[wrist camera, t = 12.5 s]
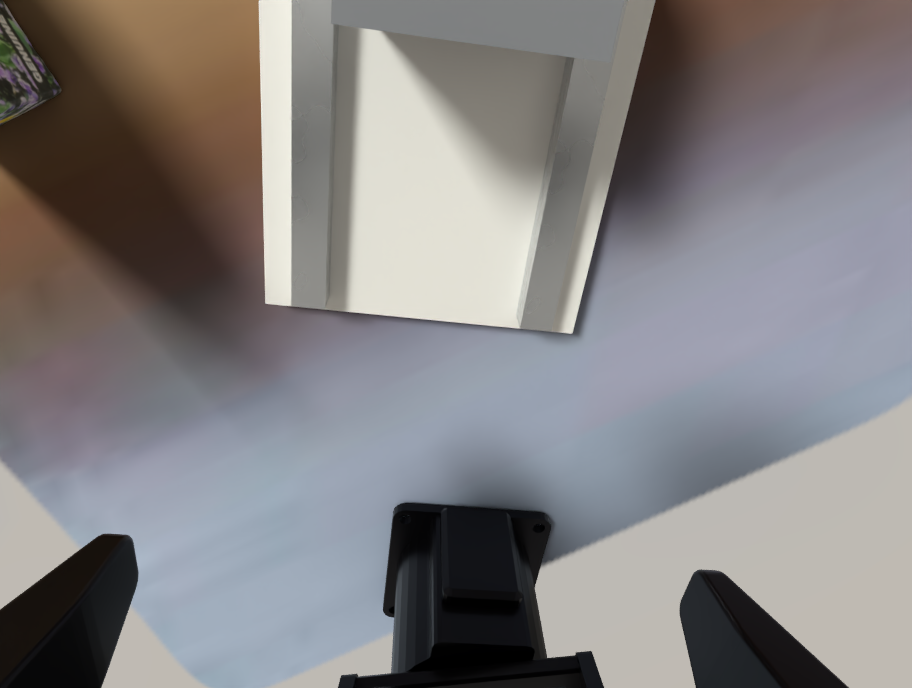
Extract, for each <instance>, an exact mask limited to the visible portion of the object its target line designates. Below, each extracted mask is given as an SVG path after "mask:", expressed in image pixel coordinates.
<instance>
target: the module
mask: <svg viewBox="0 0 912 688" xmlns="http://www.w3.org/2000/svg"><path fill="white" fill-rule="evenodd" d="M623 4H624V0H332V4H331V24H336V25H343V26H350V27H357V28H364V29H371V30H378V31H386V32H393V33H400V34H407V35H414V36H421V37H429V38H436V39H443V40H450V41H457V42H464V43H472V44H479V45H486V46H493V47H500V48H507V49H515V50H522V51H529V52H536V53H543V54H550V55H558V56H565V57H572V58H579V59H586V60H593V61H601V62H608V63H610V62H611V57H612V53H613V49H614V44H615V40H616V35H617V31H618V26H619V22H620V18H621V13H622V9H623Z"/></svg>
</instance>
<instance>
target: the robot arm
mask: <svg viewBox="0 0 912 688" xmlns="http://www.w3.org/2000/svg"><path fill="white" fill-rule="evenodd" d="M402 515H409V516H408V517H403V516H402ZM536 524H541V525H538V526H535V525H536ZM550 530H551V524H550V520H549V517H548V516H547V515H546V514H544V513H540V512H528V511H513V510H499V509H484V508H470V507H455V506H441V505H426V504H412V503H402V504H400V505H397V506H396V507H395V508H394V511H393V519H392V529H391V538H390V547H389V556H388V566H387V575H386V584H385V594H384V603H383V612H384V613H385V615H387V616H389V617H394V632H393V651H392V669H391V674H380V675H370V676H360V677H358V675H357V674H352V675H342V676H341V678H340V682H339V686H338V688H604V686H603V683H602V681H601V678H600V675H599V672H598V669H597V666H596V663H595V660H594V657H593V654H592V652H591V651H587V652H577V653H576V655H575V656H565V657H555V658H547V654H546V649H545V643H544V638H543V632H542V627H541V621H540V616H539V610H538V605H537V599H536V594H535V584H536V580H537V577H538V573H539V570H540V566H541V562H542V559H543V555H544V552H545V548H546V544H547V541H548V537H549V534H550ZM137 582H138V567H137V561H136V555H135V549H134V543H133V540H132V538H131V537H130V536H128V535H121V534H102V535H100V536H98V537H96V538H95V539H94V540H92V541H91V542H90V543H88V544H87V545H86V546H84V547H83V548H82V549H80V550H79V551H78V552H76V553H75V554H74V555H72V556H71V557H70V558H68V559H67V560H66V561H64V562H63V563H62V564H60V565H59V566H58V567H56V568H55V569H54V570H52V571H51V572H50V573H48V574H47V575H46V576H44V577H43V578H42V579H40V580H39V581H38V582H36V583H35V584H34V585H32V586H31V587H30V588H28V589H27V590H26V591H24V592H23V593H22V594H20V595H19V596H18V597H16V598H15V599H14V600H12V601H11V602H10V603H8V604H7V605H6V606H4V607H3V608H2V609H1V610H0V688H101V687H102V684H103V681H104V678H105V676H106V673H107V670H108V668H109V665H110V662H111V659H112V656H113V653H114V650H115V647H116V645H117V641H118V639H119V636H120V633H121V630H122V627H123V624H124V621H125V619H126V615H127V613H128V610H129V607H130V604H131V601H132V598H133V595H134V593H135V590H136V586H137ZM680 618H681V623H682V627H683V631H684V635H685V640H686V645H687V649H688V654H689V658H690V662H691V667H692V671H693V676H694V681H695V685H696V688H849V687H847V686H846V685H845V684H844V683H843V682H842V681H841V680H840V679H839V678H838V677H837V676H836V675H834V674H833V673H832V672H831V671H830V670H829V669H828V668H827V667H826V666H825V665H823V664H822V663H821V662H820V661H819V660H818V659H817V658H816V657H815V656H814V655H812V654H811V653H810V652H809V651H808V650H807V649H806V648H805V647H804V646H803V645H802V644H801V643H799V642H798V641H797V640H796V639H795V638H794V637H793V636H792V635H791V634H790V633H789V632H788V631H786V630H785V629H784V628H783V627H782V626H781V625H780V624H779V623H778V622H777V621H776V620H774V619H773V618H772V617H771V616H770V615H769V614H768V613H767V612H766V611H765V610H764V609H762V608H761V607H760V606H759V605H758V604H757V603H756V602H755V601H754V600H753V599H752V598H750V597H749V596H748V595H747V594H746V593H745V592H744V591H743V590H742V589H741V588H740V587H738V586H737V585H736V584H735V583H734V582H733V581H732V580H731V579H730V578H728V576H726V575H725V574H724V573H722V572H720V571H715V570H697V571H696V572H694V574H693V576H692V578H691V580H690V582H689V584H688V586H687V589H686V591H685V593H684V595H683V597H682V600H681V603H680Z"/></svg>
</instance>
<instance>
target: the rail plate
mask: <svg viewBox="0 0 912 688" xmlns="http://www.w3.org/2000/svg"><path fill="white" fill-rule="evenodd" d="M331 4H332V0H259V32H260V78H261V124H262V170H263V217H264V263H265V304H273V305H284V306H293V307H304V308H314V309H324V310H335V311H345V312H355V313H365V314H375V315H386V316H396V317H406V318H416V319H426V320H437V321H447V322H457V323H467V324H477V325H488V326H498V327H508V328H518V329H528V330H538V331H549V332H559V333H569V334H572V333H573V329H574V325H575V321H576V317H577V313H578V309H579V305H580V301H581V297H582V293H583V289H584V285H585V281H586V277H587V273H588V269H589V265H590V261H591V257H592V253H593V249H594V245H595V241H596V237H597V233H598V229H599V225H600V221H601V217H602V213H603V209H604V205H605V201H606V197H607V193H608V189H609V185H610V181H611V177H612V173H613V169H614V165H615V161H616V157H617V153H618V149H619V145H620V141H621V137H622V133H623V129H624V125H625V121H626V117H627V113H628V109H629V105H630V101H631V96H632V92H633V88H634V84H635V80H636V76H637V72H638V68H639V64H640V60H641V56H642V52H643V48H644V44H645V40H646V36H647V32H648V28H649V24H650V20H651V16H652V12H653V8H654V4H655V0H624V4H623V9H622V13H621V18H620V22H619V26H618V31H617V35H616V40H615V44H614V49H613V53H612V57H611V62H610V63H608V62H601V61H593V60H586V59H579V58H572V57H565V56H558V55H550V54H543V53H536V52H529V51H522V50H515V49H507V48H500V47H493V46H486V45H479V44H472V43H464V42H457V41H450V40H443V39H436V38H429V37H421V36H414V35H407V34H400V33H393V32H386V31H378V30H371V29H364V28H357V27H350V26H343V25H336V24H331Z"/></svg>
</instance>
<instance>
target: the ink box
mask: <svg viewBox="0 0 912 688" xmlns="http://www.w3.org/2000/svg"><path fill="white" fill-rule="evenodd" d="M60 92H61V87H60V86H59V84H58V83H57V81H56V80H55V78H54V77H53V75H52V74H51V72H50V71H49V70H48V68H47V67H46V65H45V63H44V62H43V60H42V59H41V57H40V56H39V55H38V53H37V52H36V51H35V50H34V48H33V47H32V45H31V43H30V42H29V40H28V38H27V37H26V35H25V34H24V32H23V31H22V29H21V28H20V26H19V25H18V24H17V22H16V21H15V19H14V17H13V16H12V14H11V12H10V11H9V9H8V7H7V6H6V4H5V3H4V2H3V1H2V0H0V126H1V125H2V124H4V123H6V122H7V121H9V120H11V119H14V118H16V117H18V116H19V115H21V114H23V113H25V112H27V111H29V110H31V109H34V108H35V107H37V106H39V105H41V104H43V103H44V102H46V101H47V100H49V99H51V98H53V97H55V96H57V95H58V94H59V93H60Z"/></svg>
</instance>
